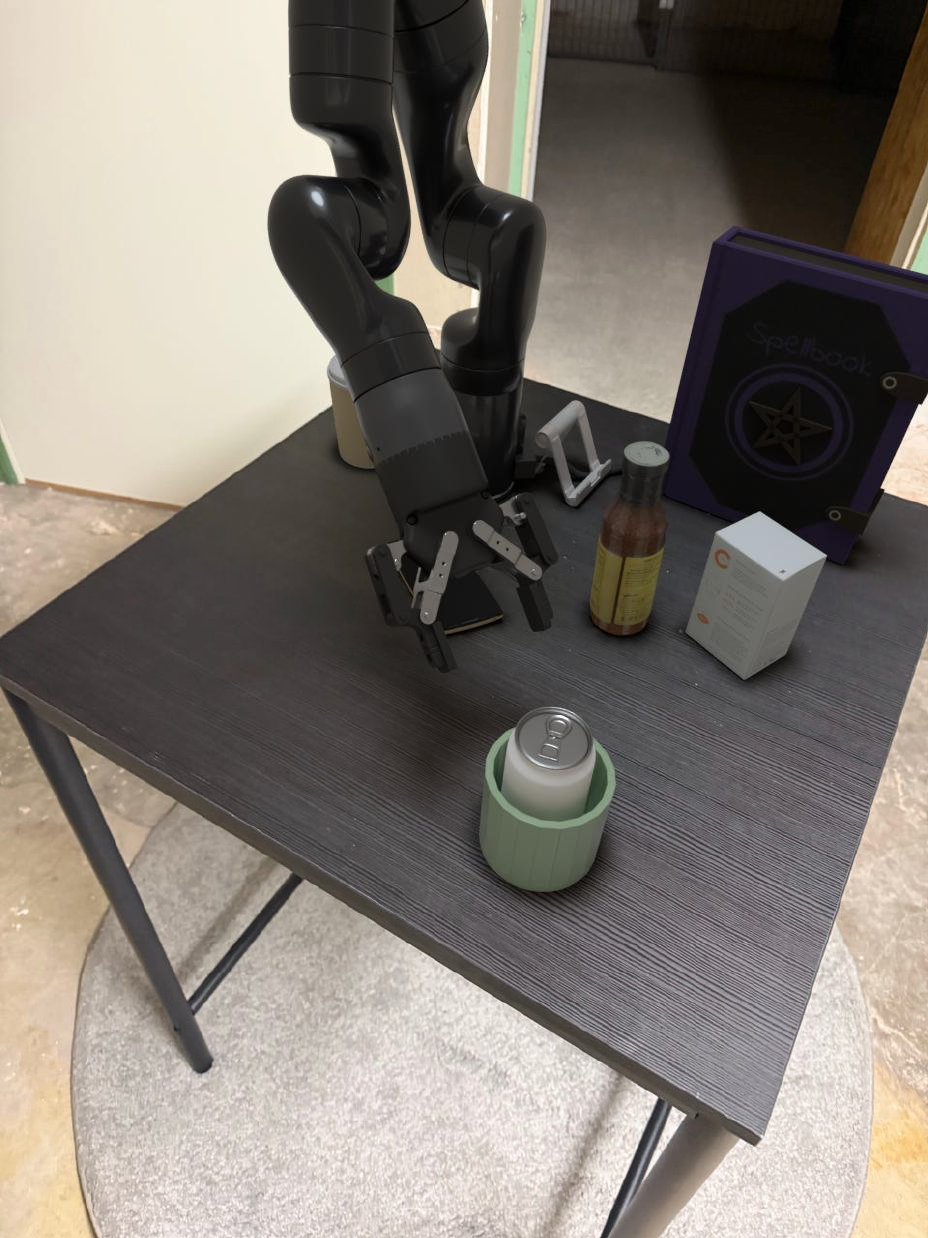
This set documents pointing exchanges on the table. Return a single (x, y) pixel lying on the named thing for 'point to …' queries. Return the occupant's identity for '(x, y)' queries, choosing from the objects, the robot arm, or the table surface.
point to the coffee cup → (346, 419)
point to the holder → (542, 829)
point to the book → (797, 386)
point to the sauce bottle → (631, 543)
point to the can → (549, 765)
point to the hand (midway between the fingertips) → (496, 649)
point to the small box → (753, 593)
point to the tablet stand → (552, 440)
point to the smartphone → (458, 600)
